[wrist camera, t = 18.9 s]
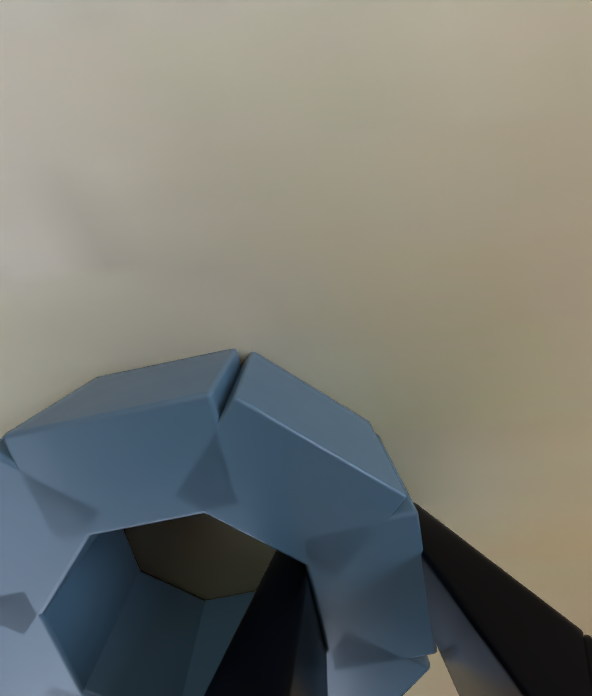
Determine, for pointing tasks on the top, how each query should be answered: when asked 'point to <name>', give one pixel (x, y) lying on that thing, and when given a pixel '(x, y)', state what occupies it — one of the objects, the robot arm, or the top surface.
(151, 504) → the slate ring
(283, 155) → the top surface
